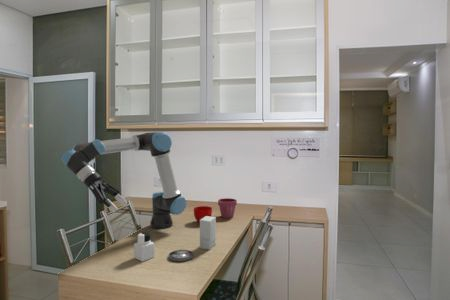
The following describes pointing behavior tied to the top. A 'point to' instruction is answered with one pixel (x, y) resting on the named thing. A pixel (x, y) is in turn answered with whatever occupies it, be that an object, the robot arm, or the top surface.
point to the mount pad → (180, 255)
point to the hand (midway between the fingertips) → (120, 207)
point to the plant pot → (227, 207)
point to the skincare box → (207, 232)
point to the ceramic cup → (202, 212)
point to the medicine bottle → (144, 247)
